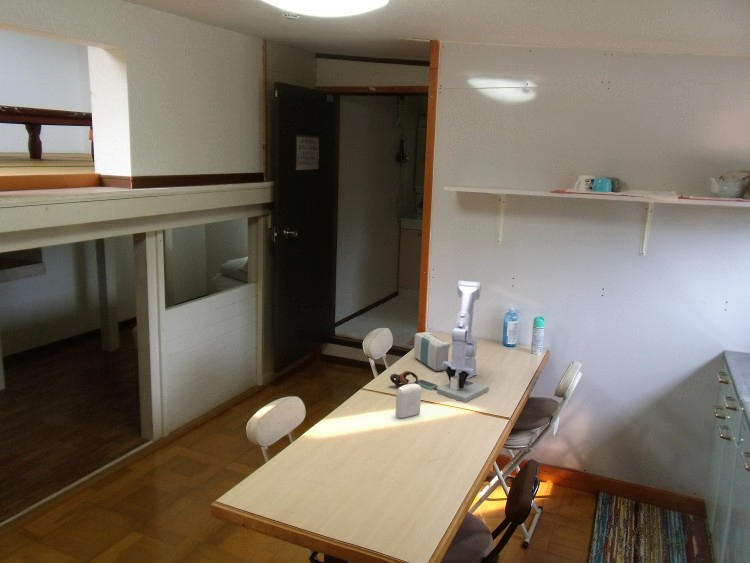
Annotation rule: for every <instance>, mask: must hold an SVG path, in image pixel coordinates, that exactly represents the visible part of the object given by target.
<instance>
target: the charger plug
mask: <svg viewBox="0 0 750 563" xmlns="http://www.w3.org/2000/svg"><path fill="white" fill-rule="evenodd" d="M449 383H450V388H451V389H454V390H457V391H458V390H461V389H462V388H459V383H460V380H459V376H457V375H455V376H453V377H451V381H450V382H449Z"/></svg>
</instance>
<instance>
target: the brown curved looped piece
mask: <svg viewBox="0 0 750 563" xmlns="http://www.w3.org/2000/svg"><path fill="white" fill-rule="evenodd" d="M407 376H412V377H413V378H415V381H413V382H410V379H408V378H406V377H407ZM389 379H390V382H392V383H393V384H394V385H395V387H397V386H398V385H399V384H402V386H404V385H407V384H418V380H419V378H418V375H417V374H416V373H415V372H413V371H410V370H409V371H408V370H406V371H405V370H404V371H403V372H402V373H400V374H397V373H393V374H391V375H390V376H389Z"/></svg>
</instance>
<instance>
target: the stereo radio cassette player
mask: <svg viewBox="0 0 750 563" xmlns="http://www.w3.org/2000/svg"><path fill="white" fill-rule="evenodd" d="M447 330H449V328H447V329H444V330H440V331H437V332H435V333H432V332H431V331H424V332H423V331H422V332H417V333H415V334H414V345H413V353H414V355H413V356H414V358H415V359H416V360H418V361H420V362H421V363H423V364H424V365H425V366H427V367H429V368H431V369H432V370H433V371H435V372H440V371H445V370H446V369H447V367H446V366H445V367H444V366H442V364H443V361H448V362H449V348H451V343H450V342H448V341H446V340H445V339H443V338H441V337H439V336H438V335H437V334H440V333H443V332H445V331H447Z"/></svg>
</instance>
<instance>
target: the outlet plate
mask: <svg viewBox="0 0 750 563" xmlns="http://www.w3.org/2000/svg"><path fill="white" fill-rule="evenodd" d="M489 390H490V388H489V386H488V385H485V384H481V383H479V382H475V381H471V380H469V379H466V381H465V384H464V387H463V388H462V389H461V390H458V391H457V390H454V389H451V388H450V382H449V383H446V384H445V385H442V386H440V387H438V388H437V390H436V394H437V395H438V394H439V395H441V396H444V397H447V398H450V399H454V400H456V401H459V402H462V403H464V404H465V403H467V402H469V401H472V400H474V399H475V398H477V397H479V396H481V395H483V394H486V393H487V392H489Z"/></svg>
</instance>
